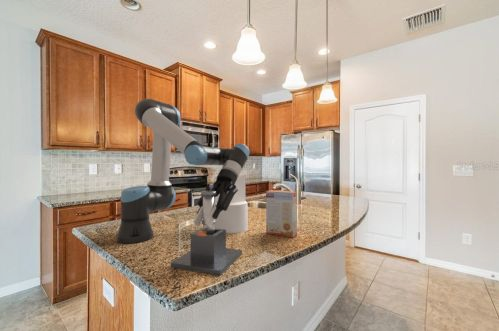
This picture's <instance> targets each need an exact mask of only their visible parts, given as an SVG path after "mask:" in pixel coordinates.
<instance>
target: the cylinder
mask: <svg viewBox="0 0 499 331" xmlns="http://www.w3.org/2000/svg"><path fill="white" fill-rule="evenodd" d="M217 176H218V174H216V175H214V182H216V180H217ZM246 181H247V180H246V174H239V176H238V178H237V181H236V183H235V184H234V185H235V186H236V187H237V189H238V191H237V192H236V193H235V194H234V196H233V198H232V200H231V202H230V204H229V206H228V208H227V210H226V211H224V210H222V211H221V212H220V214H219V215H218V217H217V219H215V220H216V223H215V229H225V230H226V234H229V235H230V234H239V233H244V232H246V231H247V230H248V226H249V225H248V221H249V220H248V212H249V211H248V209H249V208H248V207H249V206H248V201H246V200H247V199H246V198H247V197H246V194H247V193H246V189H247V188H246ZM219 195H220V194H219ZM219 195H218V196H216V197H215V198H214V208H216V207H215V205H217V202H218V198H219Z"/></svg>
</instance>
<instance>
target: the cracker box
mask: <svg viewBox="0 0 499 331" xmlns="http://www.w3.org/2000/svg"><path fill="white" fill-rule="evenodd" d="M265 193H266V195H265V200H266V202H265V203H266V204H265V207H266V208H265V210H266V211H265V213H266V214H265V215H266V216H265V217H266V218H265V223H266V224H265V226H266V228H265V230H266V232H265V233H266V234H269V235H276V236H282V237H287V238H294V237H295V236H297V235H298V195H297V194H298V191H294V190H293V191H291V190H278V189H276V190H275V189H274V190H272V189H271V190H266V191H265Z"/></svg>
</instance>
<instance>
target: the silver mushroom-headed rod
mask: <svg viewBox="0 0 499 331" xmlns="http://www.w3.org/2000/svg"><path fill="white" fill-rule="evenodd" d="M200 195H201V196H202V195H203V219H202V221H201V225H202V228H203V231H207V234H208V235H213V234H215V223H216V220H214V222H213V224H212V226H211V228H208V227H207V226H206V224H205V222H206V221H207V219H208V217H209V215H210V213H211V211H212V209H213V208H215V198H214V195H216V191H205V190H200Z"/></svg>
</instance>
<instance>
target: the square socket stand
mask: <svg viewBox="0 0 499 331" xmlns="http://www.w3.org/2000/svg"><path fill="white" fill-rule="evenodd" d="M189 235H190V241H189V242H190V245H189V246H190V250H189V251H187V252H186V253H184V254H183V255H181V256H180V257H178V258H176V259H175V260H173V261H171V262H170V268H174V269H179V270H186V271H192V272H196V273H197V272H198V273H203V274H209V275H213V276H222V275H223V274H224V273H225V272H227V271H226V270H228V269H229V268H230V266H232V265H233V264H234V263H235V262H236V261H237V260H238V259H239V258H240V257H241V256H242V255H243V249H235V248H228V247H227V245H226V244H227V233H226V230H225V229H215V234H213V235H208V234H207V231H203V227H202V228H200V229H198V230H196V231H194V232H192V233H190V234H189Z"/></svg>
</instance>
